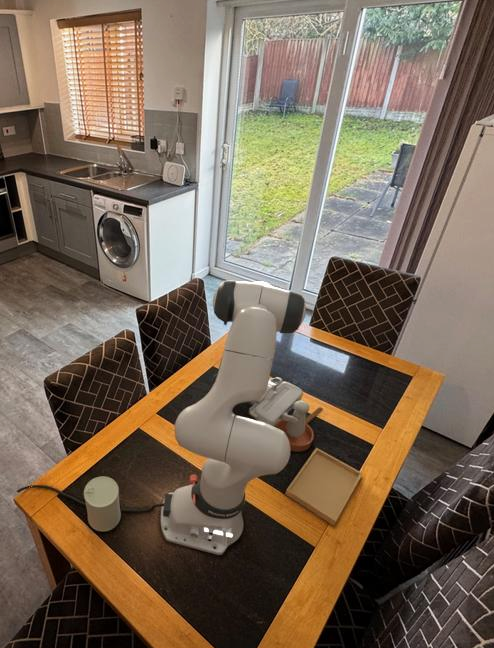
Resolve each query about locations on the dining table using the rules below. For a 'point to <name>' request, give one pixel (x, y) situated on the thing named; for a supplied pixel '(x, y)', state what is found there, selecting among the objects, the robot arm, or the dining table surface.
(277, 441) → the robot arm
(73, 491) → the dining table surface
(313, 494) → the tray
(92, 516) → the can
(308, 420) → the pan handle
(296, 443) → the pan
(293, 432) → the salt shaker
